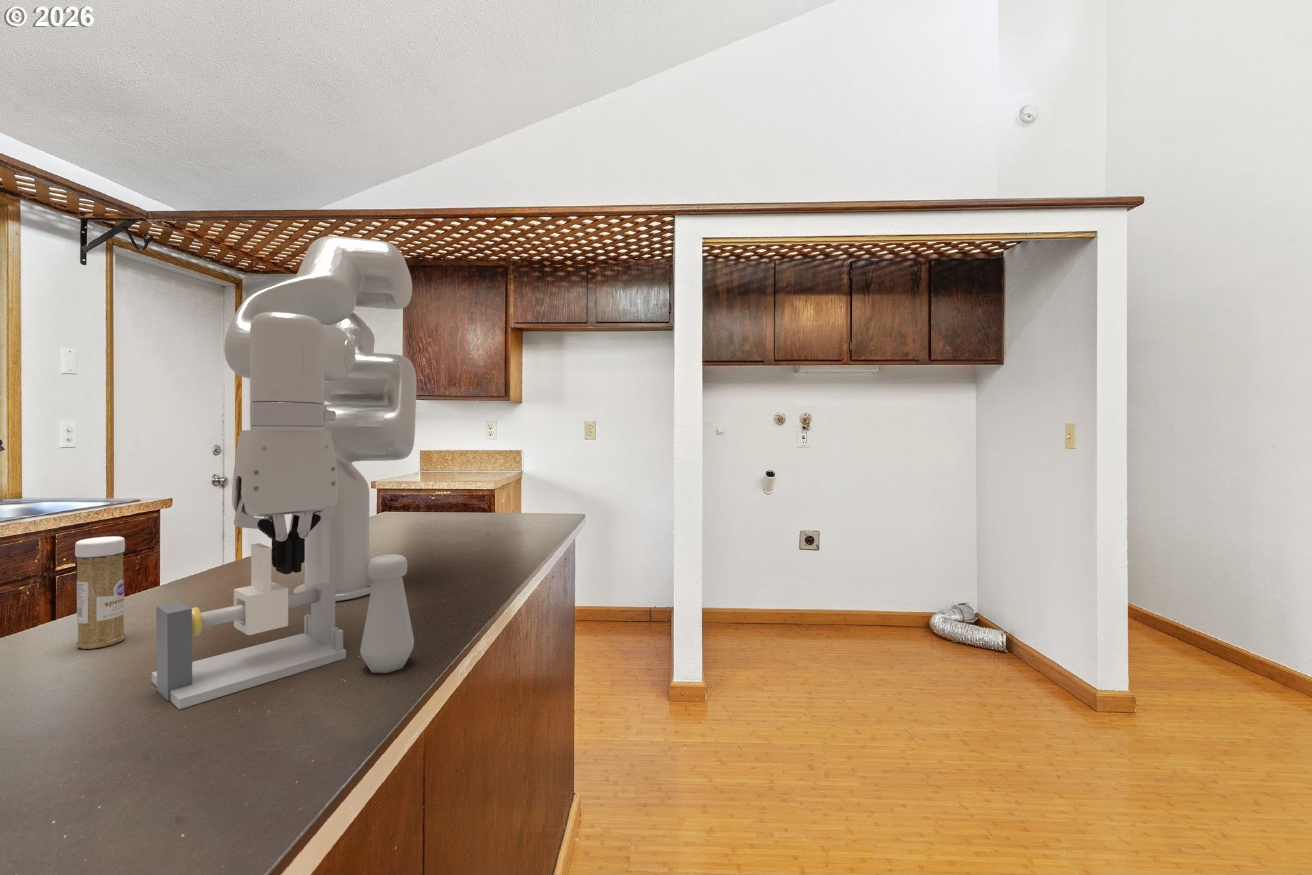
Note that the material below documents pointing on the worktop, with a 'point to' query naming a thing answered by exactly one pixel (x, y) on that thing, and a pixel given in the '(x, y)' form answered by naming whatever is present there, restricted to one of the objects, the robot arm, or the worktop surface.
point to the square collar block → (261, 596)
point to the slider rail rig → (244, 666)
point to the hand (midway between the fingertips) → (288, 571)
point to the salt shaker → (387, 616)
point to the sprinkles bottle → (100, 591)
